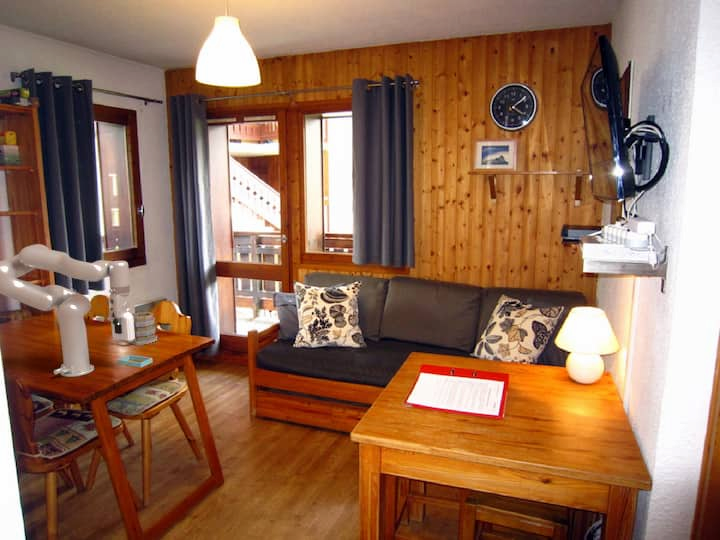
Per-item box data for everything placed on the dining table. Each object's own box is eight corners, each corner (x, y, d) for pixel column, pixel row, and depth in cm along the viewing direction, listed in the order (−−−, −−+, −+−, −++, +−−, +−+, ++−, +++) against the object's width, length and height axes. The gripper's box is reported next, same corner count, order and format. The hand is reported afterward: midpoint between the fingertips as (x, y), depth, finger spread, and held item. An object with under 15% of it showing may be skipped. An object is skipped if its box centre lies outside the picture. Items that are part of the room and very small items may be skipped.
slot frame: (141, 367, 223) (140, 363, 222) (117, 364, 227) (117, 359, 227) (152, 362, 229) (152, 358, 229) (129, 359, 233) (129, 354, 233)
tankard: (145, 336, 268) (143, 308, 266) (162, 339, 262) (160, 311, 260) (111, 347, 251) (109, 317, 249) (128, 350, 245) (126, 320, 243)
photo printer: (110, 338, 219) (108, 310, 217) (119, 336, 223) (117, 308, 221) (128, 342, 215) (126, 313, 213) (136, 339, 219) (134, 311, 217)
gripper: (111, 294, 207) (114, 338, 210) (141, 287, 222) (144, 327, 225) (97, 293, 209) (100, 336, 212) (128, 285, 225) (131, 325, 228)
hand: (123, 331), depth 219 cm, fingers closed on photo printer, 4 cm apart
